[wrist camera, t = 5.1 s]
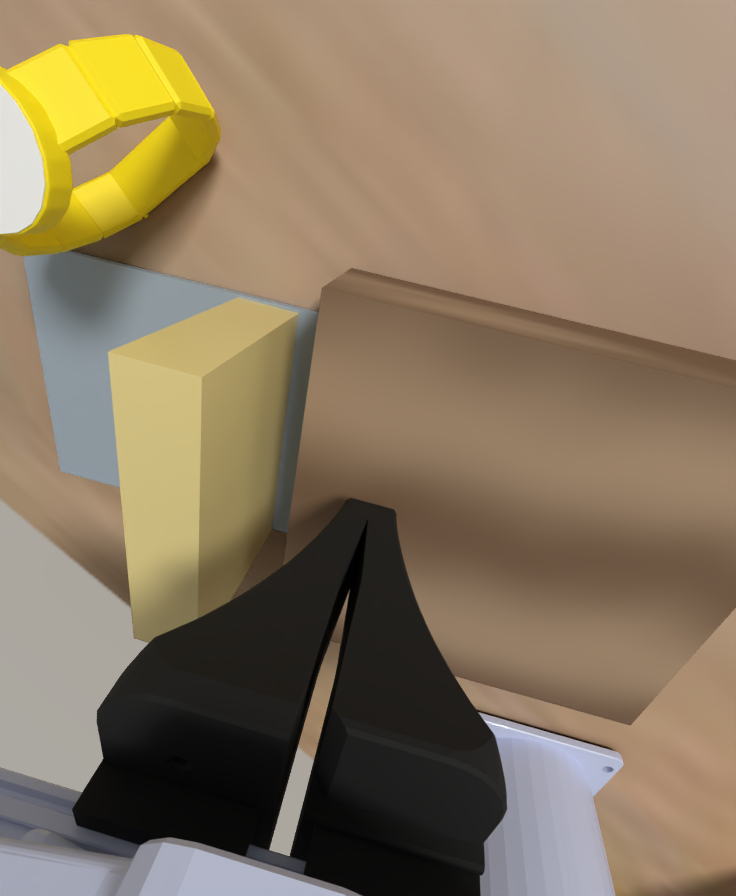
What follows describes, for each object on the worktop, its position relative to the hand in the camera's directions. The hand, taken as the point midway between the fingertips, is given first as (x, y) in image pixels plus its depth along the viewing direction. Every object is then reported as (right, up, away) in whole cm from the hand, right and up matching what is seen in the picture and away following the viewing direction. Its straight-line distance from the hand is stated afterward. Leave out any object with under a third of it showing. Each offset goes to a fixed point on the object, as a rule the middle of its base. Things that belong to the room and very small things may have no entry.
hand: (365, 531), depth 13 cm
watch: (-6, +11, +1) cm, 12 cm away
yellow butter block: (-4, +1, +1) cm, 4 cm away
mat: (-7, +4, +4) cm, 9 cm away
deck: (+5, +1, +4) cm, 6 cm away
